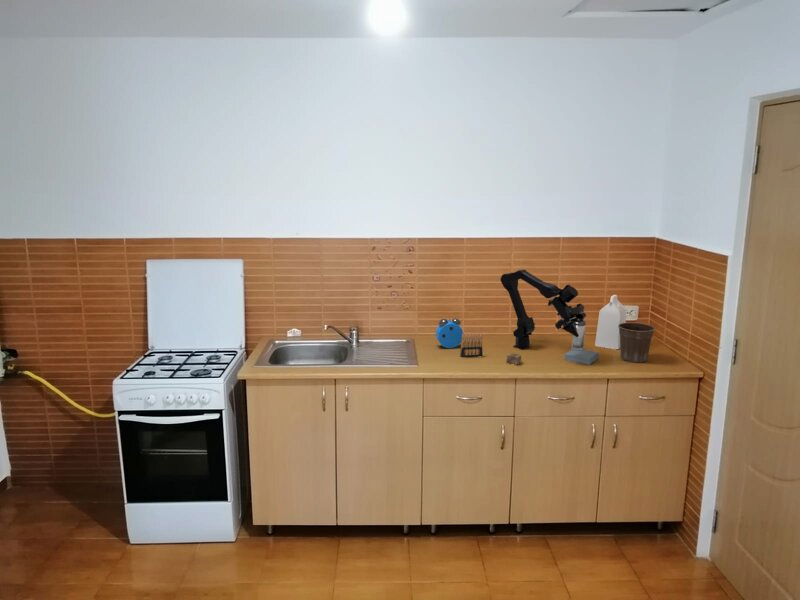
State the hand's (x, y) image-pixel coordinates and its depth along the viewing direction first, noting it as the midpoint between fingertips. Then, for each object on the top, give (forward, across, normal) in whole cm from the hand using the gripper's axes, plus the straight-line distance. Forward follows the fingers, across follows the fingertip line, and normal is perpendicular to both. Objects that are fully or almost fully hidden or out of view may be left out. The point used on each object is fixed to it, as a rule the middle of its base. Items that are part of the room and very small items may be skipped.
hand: (581, 335), depth 280 cm
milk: (+6, +37, +13) cm, 39 cm away
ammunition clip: (-18, -30, +38) cm, 52 cm away
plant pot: (+20, +24, -1) cm, 31 cm away
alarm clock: (-31, -27, +51) cm, 65 cm away
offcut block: (-5, -23, +24) cm, 34 cm away
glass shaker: (+4, 0, +6) cm, 7 cm away
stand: (+8, +6, +11) cm, 15 cm away
